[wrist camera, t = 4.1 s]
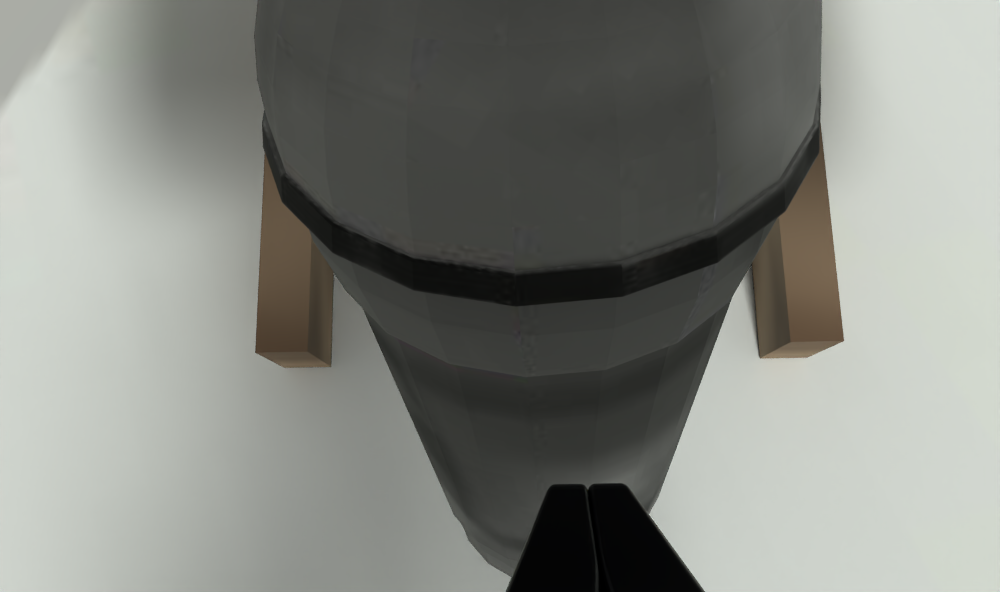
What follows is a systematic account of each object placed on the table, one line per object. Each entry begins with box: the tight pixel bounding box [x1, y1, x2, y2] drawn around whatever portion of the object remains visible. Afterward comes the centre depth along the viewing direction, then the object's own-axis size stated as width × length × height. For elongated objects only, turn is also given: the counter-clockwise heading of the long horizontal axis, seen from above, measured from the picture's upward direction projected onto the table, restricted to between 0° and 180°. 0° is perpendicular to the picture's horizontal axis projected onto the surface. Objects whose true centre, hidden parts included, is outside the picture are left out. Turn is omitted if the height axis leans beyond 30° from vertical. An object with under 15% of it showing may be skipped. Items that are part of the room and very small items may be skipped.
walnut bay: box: [255, 124, 844, 368], centre depth 22 cm, size 12×13×2 cm
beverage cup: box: [254, 0, 822, 577], centre depth 12 cm, size 7×7×20 cm
